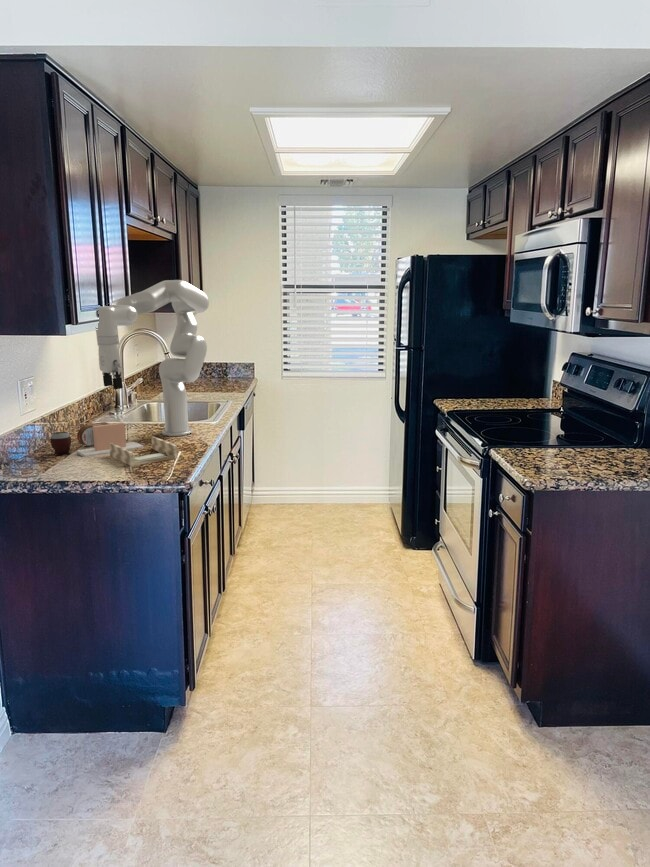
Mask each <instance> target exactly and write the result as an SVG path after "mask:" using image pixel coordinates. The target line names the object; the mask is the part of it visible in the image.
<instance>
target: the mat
mask: <svg viewBox="0 0 650 867" xmlns="http://www.w3.org/2000/svg"><path fill="white" fill-rule="evenodd" d="M122 448H124V449H126V450H129V451H131V450H136V449H143V448H144V445H143V444H140V443H138V442H136V441H132V442H126V447H122ZM76 454H77V455H79V456H81V457H83V458H88V457H95V456H100V455H107V454H110V449H107V450H101V451H96V450H95V448H93V447H92V448H86V449H79V450H76Z"/></svg>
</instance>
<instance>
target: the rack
mask: <svg viewBox="0 0 650 867" xmlns="http://www.w3.org/2000/svg"><path fill="white" fill-rule="evenodd" d="M109 446H110V453H109V456H110V457H111V458H114V459H116V460H118V461H120V462H121V463H124V464H126V465H128V466H130V467H135V466H140V465H146V464H151V463H157V462H162V461H168V460H173V459H178V447H177V444H174V443H172V442H170V441H167V440H164V439H161V438H159V437H156V436H151V450H153V451H157V453H155V454H158V453H161V454H164V455H165V456H163V457H158V458H152V459H146V460H141V461H135V462H134V458H137V457H142V456H147V455H148V454H146V455H140V456H135V457H134V452H133V451H131V450H126V449H124V448H122V447H120V446H118V445H115V444H113V443H109ZM152 454H153V453H151V454H149V455H152Z"/></svg>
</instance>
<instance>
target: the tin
mask: <svg viewBox="0 0 650 867" xmlns="http://www.w3.org/2000/svg"><path fill="white" fill-rule="evenodd" d="M106 424H109V422H105V421H102V422H97V423H89V424H85V425H83V426H81V427H80V428H79V429H78V431H77V434H76V439H77V441H78V443H79V445H82V446H85V447H93V446H94V437H93V426H98V425H106Z"/></svg>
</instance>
